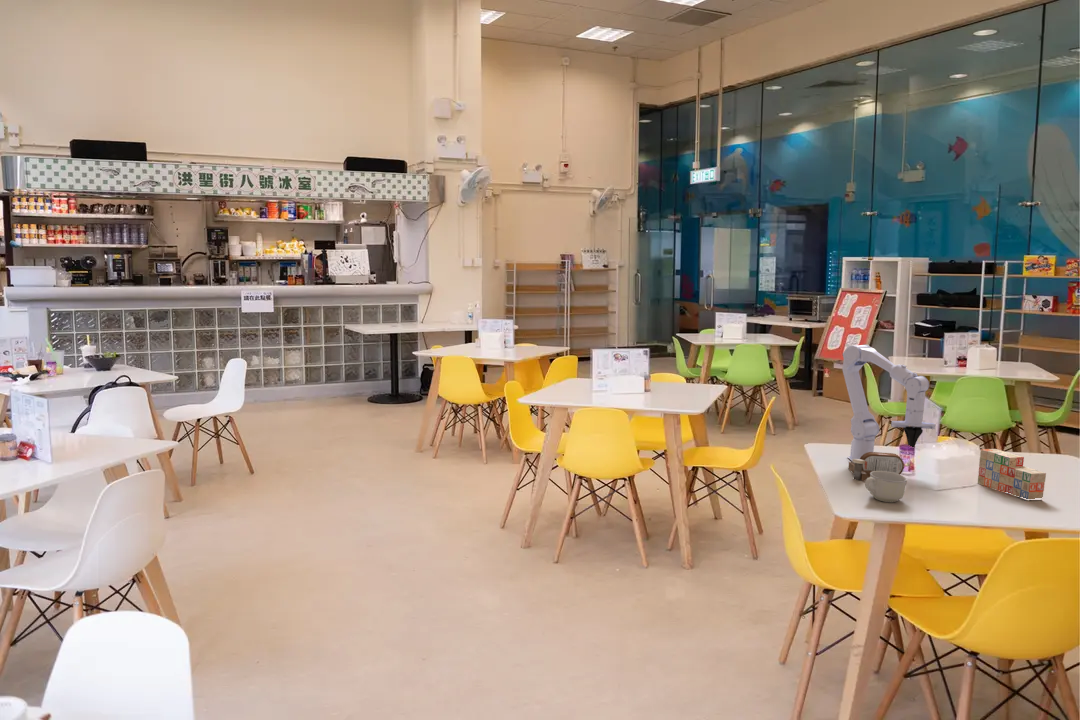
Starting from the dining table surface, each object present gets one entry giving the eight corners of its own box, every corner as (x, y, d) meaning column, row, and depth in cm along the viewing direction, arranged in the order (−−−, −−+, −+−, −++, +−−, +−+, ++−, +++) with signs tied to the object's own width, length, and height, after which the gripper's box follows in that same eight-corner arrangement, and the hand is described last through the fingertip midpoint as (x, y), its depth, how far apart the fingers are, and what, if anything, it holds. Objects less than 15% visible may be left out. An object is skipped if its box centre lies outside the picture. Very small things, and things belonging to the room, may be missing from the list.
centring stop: (839, 468, 294) (841, 450, 294) (863, 469, 294) (865, 451, 293) (852, 480, 279) (854, 461, 278) (878, 481, 278) (880, 462, 277)
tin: (900, 476, 286) (903, 453, 285) (904, 478, 283) (906, 455, 282) (857, 474, 288) (859, 450, 287) (859, 476, 284) (861, 452, 283)
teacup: (891, 494, 263) (893, 470, 262) (912, 504, 253) (914, 479, 252) (852, 495, 261) (854, 470, 260) (871, 505, 250) (873, 480, 249)
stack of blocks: (1043, 501, 262) (1047, 463, 260) (1027, 501, 260) (1031, 464, 259) (991, 482, 282) (995, 448, 281) (976, 483, 281) (980, 448, 279)
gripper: (897, 411, 284) (894, 449, 286) (940, 413, 283) (936, 451, 285) (890, 407, 291) (887, 444, 293) (932, 409, 290) (928, 446, 292)
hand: (911, 447), depth 289 cm, fingers closed
